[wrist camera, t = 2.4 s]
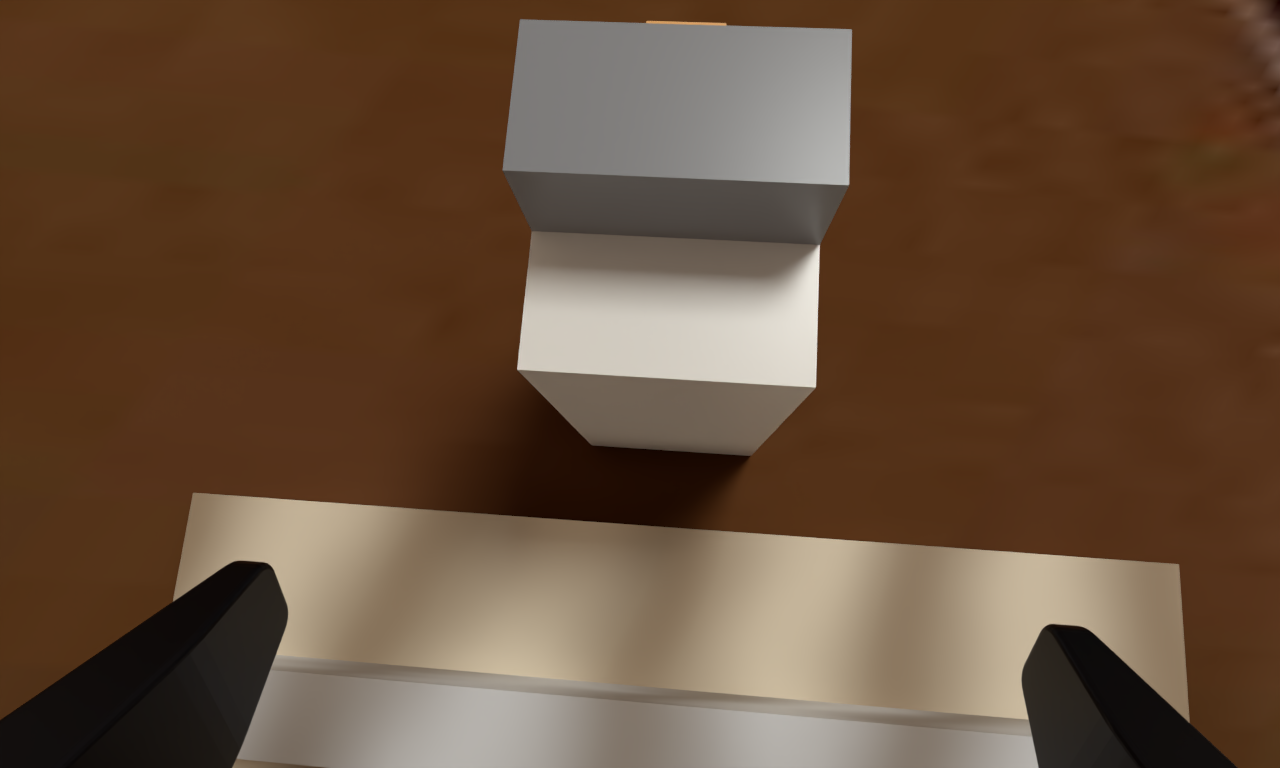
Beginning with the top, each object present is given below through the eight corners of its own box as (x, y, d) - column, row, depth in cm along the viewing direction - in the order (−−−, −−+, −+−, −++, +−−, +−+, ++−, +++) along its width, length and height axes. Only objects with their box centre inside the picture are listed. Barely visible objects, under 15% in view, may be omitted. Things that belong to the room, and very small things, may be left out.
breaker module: (758, 276, 22) (851, -23, 10) (750, 455, 21) (845, 356, 9) (606, 268, 22) (525, -31, 10) (591, 445, 21) (483, 335, 9)
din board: (1154, 562, 20) (1231, 567, 17) (1180, 990, 18) (1272, 1073, 15) (215, 494, 21) (147, 488, 19) (146, 878, 19) (58, 936, 17)
